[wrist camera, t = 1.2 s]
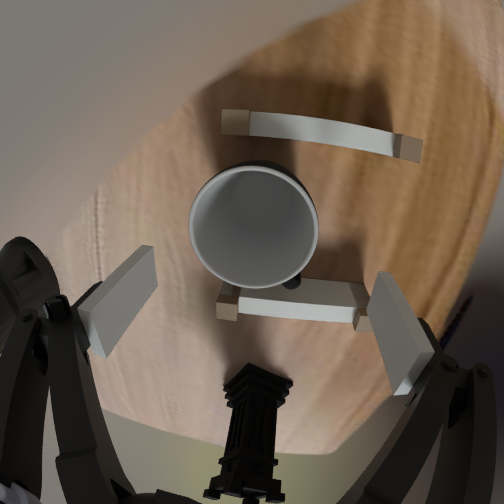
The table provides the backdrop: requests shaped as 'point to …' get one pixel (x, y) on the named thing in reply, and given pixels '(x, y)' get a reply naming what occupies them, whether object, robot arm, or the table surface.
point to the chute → (310, 290)
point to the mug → (254, 225)
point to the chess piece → (251, 437)
